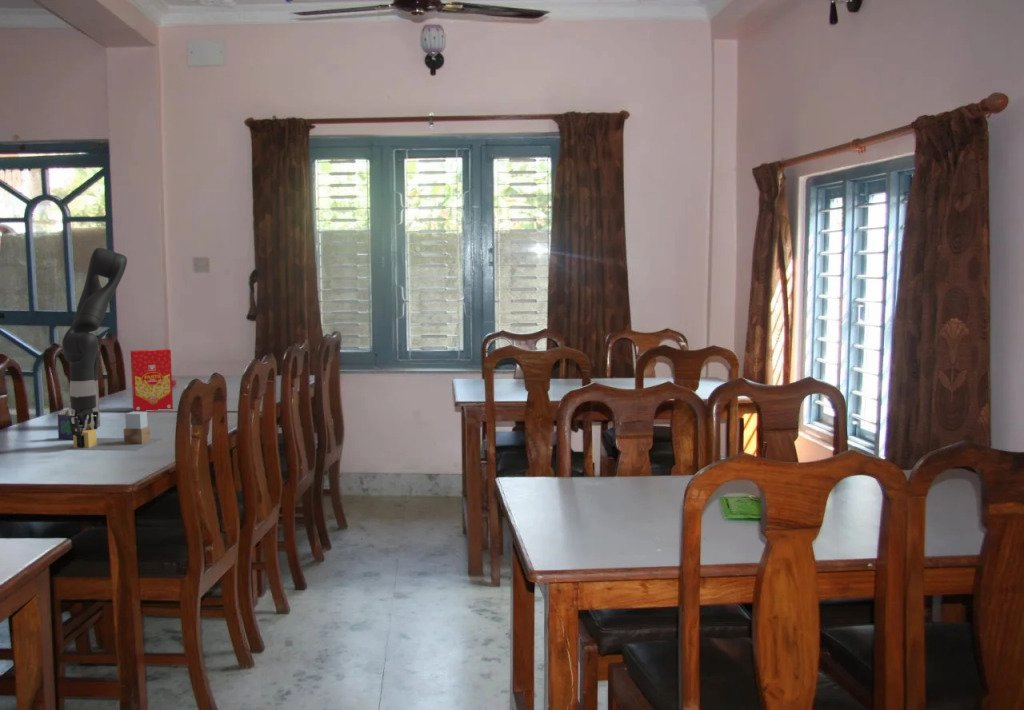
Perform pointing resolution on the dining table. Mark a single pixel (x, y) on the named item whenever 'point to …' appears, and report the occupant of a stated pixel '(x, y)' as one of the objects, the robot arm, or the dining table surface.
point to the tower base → (137, 435)
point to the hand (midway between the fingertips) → (85, 445)
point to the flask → (65, 425)
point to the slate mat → (116, 444)
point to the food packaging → (151, 379)
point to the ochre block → (87, 439)
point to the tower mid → (136, 420)
